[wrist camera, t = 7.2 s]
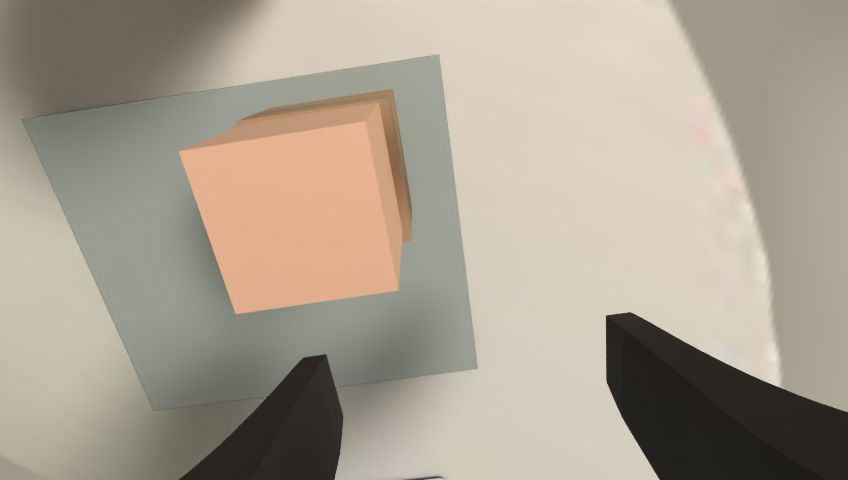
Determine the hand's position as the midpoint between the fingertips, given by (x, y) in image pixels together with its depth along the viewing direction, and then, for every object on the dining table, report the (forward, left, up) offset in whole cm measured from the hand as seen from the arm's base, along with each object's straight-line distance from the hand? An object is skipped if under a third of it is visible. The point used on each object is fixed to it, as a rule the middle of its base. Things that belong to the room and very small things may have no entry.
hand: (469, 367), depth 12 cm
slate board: (0, +8, -10) cm, 13 cm away
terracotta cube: (+4, +4, -6) cm, 8 cm away
